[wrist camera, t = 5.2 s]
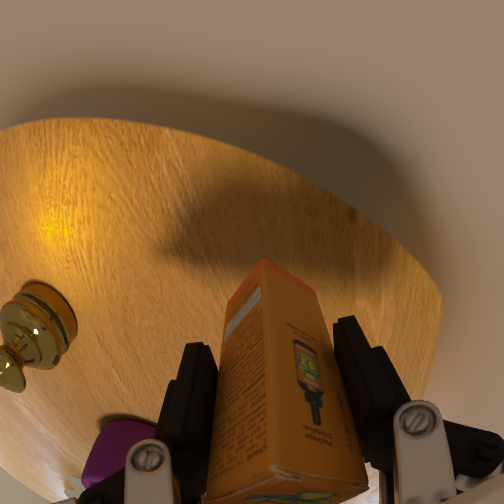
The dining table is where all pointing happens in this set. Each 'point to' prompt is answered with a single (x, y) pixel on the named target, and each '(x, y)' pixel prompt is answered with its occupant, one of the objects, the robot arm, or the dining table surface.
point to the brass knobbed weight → (33, 333)
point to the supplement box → (280, 401)
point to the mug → (113, 449)
